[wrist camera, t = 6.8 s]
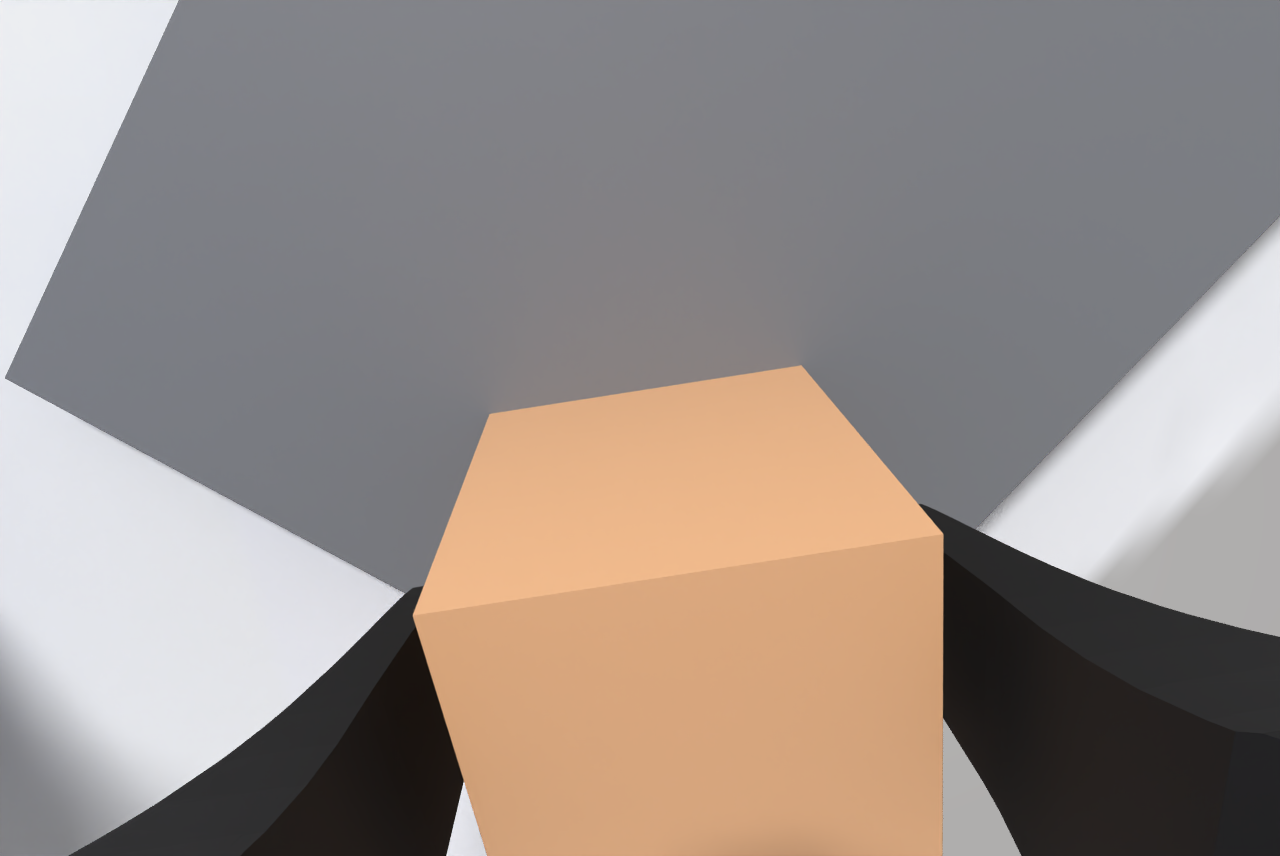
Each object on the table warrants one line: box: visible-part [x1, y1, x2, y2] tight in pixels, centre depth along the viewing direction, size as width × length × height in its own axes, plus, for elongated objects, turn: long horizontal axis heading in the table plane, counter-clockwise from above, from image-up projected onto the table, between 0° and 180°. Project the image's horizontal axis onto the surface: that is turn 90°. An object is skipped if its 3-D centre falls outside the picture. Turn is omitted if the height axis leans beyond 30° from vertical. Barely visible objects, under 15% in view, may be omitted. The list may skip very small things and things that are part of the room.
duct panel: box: [5, 0, 1280, 593], centre depth 11 cm, size 18×16×5 cm
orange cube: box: [413, 365, 943, 856], centre depth 12 cm, size 6×6×6 cm
